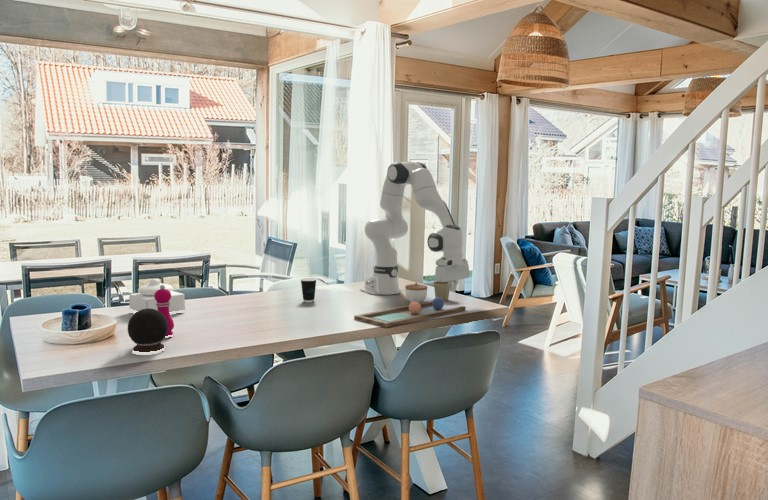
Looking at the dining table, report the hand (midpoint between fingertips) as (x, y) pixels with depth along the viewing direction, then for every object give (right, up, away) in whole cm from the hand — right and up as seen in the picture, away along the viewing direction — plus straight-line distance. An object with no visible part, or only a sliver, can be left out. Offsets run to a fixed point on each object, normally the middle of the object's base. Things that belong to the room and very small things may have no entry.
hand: (452, 289), depth 295 cm
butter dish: (-133, -10, -13) cm, 134 cm away
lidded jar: (-16, -7, +12) cm, 22 cm away
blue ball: (-7, -6, -5) cm, 11 cm away
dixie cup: (-69, -7, +13) cm, 70 cm away
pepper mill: (-115, -15, -55) cm, 129 cm away
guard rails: (-19, -10, -16) cm, 27 cm away
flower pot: (-4, -6, +17) cm, 19 cm away
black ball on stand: (-114, -17, -74) cm, 137 cm away
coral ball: (-19, -7, -15) cm, 25 cm away
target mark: (-27, -11, -23) cm, 37 cm away
